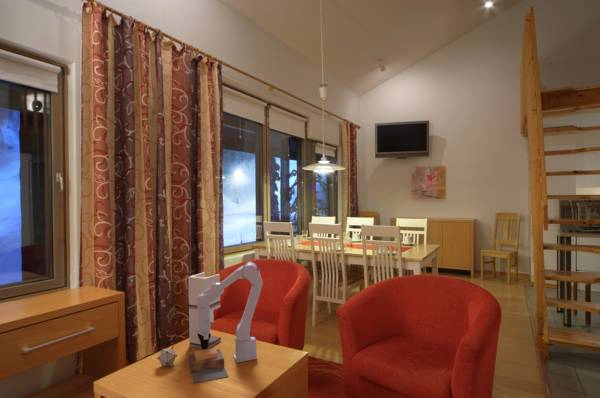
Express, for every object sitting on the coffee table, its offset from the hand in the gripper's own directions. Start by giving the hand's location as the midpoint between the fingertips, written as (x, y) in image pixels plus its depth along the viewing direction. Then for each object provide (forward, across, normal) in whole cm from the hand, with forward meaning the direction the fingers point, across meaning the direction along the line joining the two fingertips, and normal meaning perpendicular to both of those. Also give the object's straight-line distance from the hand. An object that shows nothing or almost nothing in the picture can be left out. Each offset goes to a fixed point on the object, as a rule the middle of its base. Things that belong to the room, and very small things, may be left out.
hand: (204, 349), depth 169 cm
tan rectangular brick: (+1, +6, 0) cm, 6 cm away
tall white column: (+5, -19, +3) cm, 20 cm away
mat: (+5, +16, 0) cm, 16 cm away
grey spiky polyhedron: (+5, -1, -16) cm, 17 cm away
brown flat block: (+5, +6, 0) cm, 7 cm away
